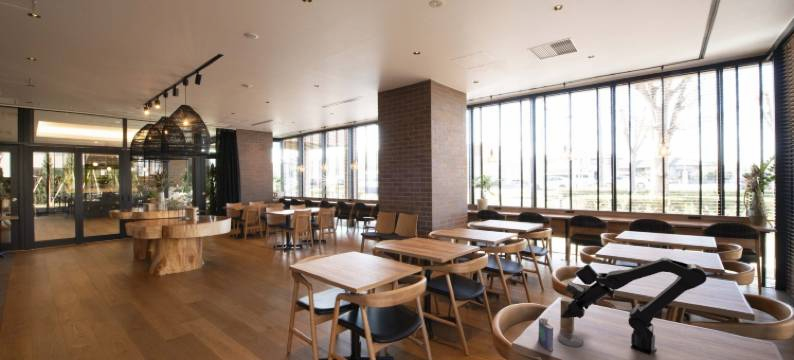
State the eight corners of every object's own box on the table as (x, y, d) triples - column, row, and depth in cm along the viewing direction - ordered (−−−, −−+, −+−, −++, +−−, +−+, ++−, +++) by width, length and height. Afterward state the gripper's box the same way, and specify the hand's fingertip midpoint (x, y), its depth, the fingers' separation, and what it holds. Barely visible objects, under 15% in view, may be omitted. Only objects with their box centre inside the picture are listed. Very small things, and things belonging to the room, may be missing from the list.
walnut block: (573, 329, 149) (574, 299, 148) (572, 333, 145) (572, 302, 145) (562, 326, 152) (562, 296, 151) (560, 330, 148) (560, 300, 147)
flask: (554, 351, 132) (554, 323, 131) (546, 351, 132) (546, 323, 131) (543, 339, 141) (543, 313, 140) (536, 339, 141) (536, 313, 140)
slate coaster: (587, 342, 138) (587, 340, 138) (575, 349, 133) (575, 347, 133) (565, 333, 145) (565, 331, 145) (553, 339, 140) (553, 338, 140)
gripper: (581, 271, 153) (554, 291, 160) (574, 283, 138) (544, 304, 145) (602, 292, 148) (573, 312, 155) (596, 307, 133) (564, 328, 140)
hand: (563, 313), depth 149 cm, fingers open, 8 cm apart
